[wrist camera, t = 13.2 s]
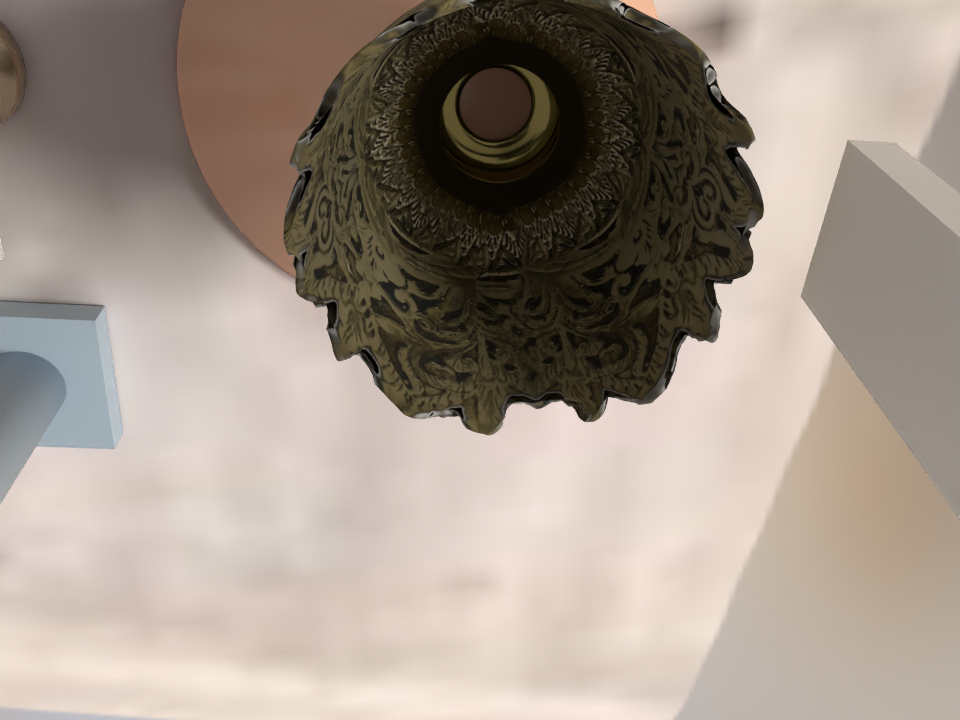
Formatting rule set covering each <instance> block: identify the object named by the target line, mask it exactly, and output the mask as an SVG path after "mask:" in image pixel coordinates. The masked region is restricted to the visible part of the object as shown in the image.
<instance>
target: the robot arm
mask: <svg viewBox="0 0 960 720" xmlns="http://www.w3.org/2000/svg"><path fill="white" fill-rule="evenodd" d="M3 257H4V253H3V248H2V244H1V239H0V260H1V259H2V258H3ZM801 297H802V299H803V300H804V302H805V303H806V304H807V306H808V307H809V309H810V310H811V311H812V313H813V314H814V316H815V317H816V318H817V320H818V321H819V323H820V324H821V325H822V327H823V328H824V330H825V331H826V332H827V334H828V335H829V337H830V338H831V340H832V341H833V342H834V344H835V345H836V347H837V348H838V349H839V351H840V352H841V354H842V355H843V356H844V358H845V359H846V361H848V363H849V365H850V366H851V368H852V369H853V370H854V372H855V373H856V375H857V376H858V377H859V379H860V380H861V381H862V383H863V384H864V386H865V387H866V389H867V390H868V391H869V393H870V394H871V396H872V397H873V398H874V400H875V401H876V403H877V404H878V405H879V407H880V408H881V410H882V411H883V413H884V414H885V415H886V417H887V418H888V419H889V421H890V422H891V424H892V425H893V427H894V428H895V429H896V431H897V432H898V434H899V435H900V436H901V438H902V439H903V441H904V442H905V443H906V445H907V446H908V448H909V449H910V450H911V452H912V453H913V455H914V456H915V457H916V459H917V460H918V462H919V463H920V464H921V466H922V467H923V469H924V470H925V471H926V473H927V474H928V476H929V477H930V478H931V480H932V481H933V483H934V484H935V486H936V487H937V488H938V490H939V491H940V492H941V494H942V495H943V497H944V498H945V500H946V501H947V502H948V504H949V505H950V507H951V508H952V509H953V511H954V512H955V514H956V515H957V516H958V518H959V519H960V194H959V193H958V192H957V191H955V190H954V189H953V188H952V187H950V186H949V185H948V184H947V183H945V182H944V181H943V180H942V179H940V178H939V177H938V176H936V175H935V174H934V173H933V172H931V171H930V170H929V169H928V168H926V167H925V166H924V165H922V164H921V163H920V162H919V161H917V160H916V159H915V158H914V157H912V156H911V155H910V154H909V153H907V152H906V151H905V150H904V149H902V148H901V147H900V146H898V145H897V144H896V143H888V142H873V141H858V140H848V141H847V145H846V148H845V151H844V154H843V158H842V161H841V164H840V168H839V171H838V174H837V178H836V181H835V184H834V188H833V191H832V194H831V198H830V201H829V204H828V207H827V211H826V214H825V217H824V221H823V224H822V227H821V231H820V234H819V237H818V241H817V244H816V247H815V251H814V254H813V257H812V261H811V264H810V267H809V270H808V274H807V277H806V280H805V284H804V287H803V290H802V294H801Z"/></svg>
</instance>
